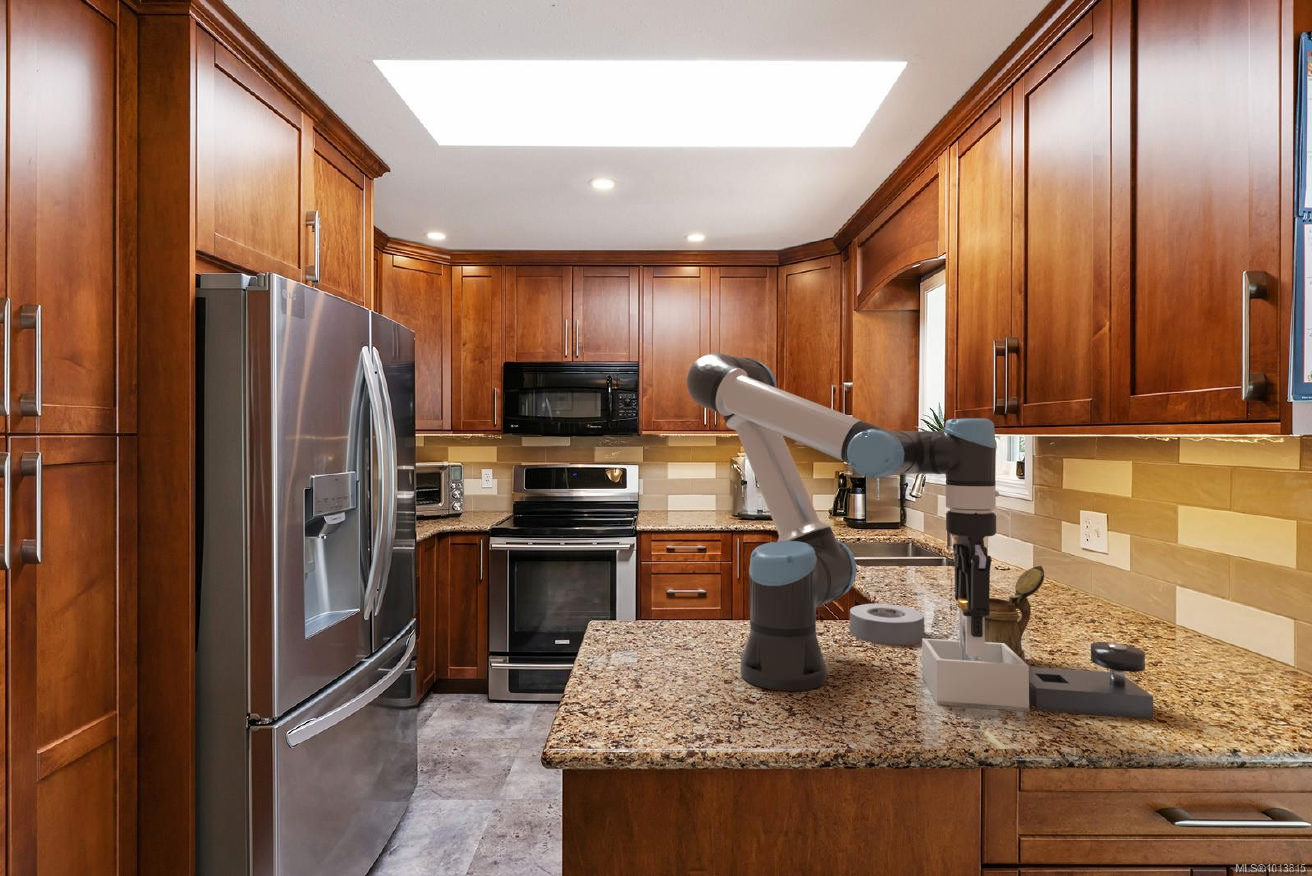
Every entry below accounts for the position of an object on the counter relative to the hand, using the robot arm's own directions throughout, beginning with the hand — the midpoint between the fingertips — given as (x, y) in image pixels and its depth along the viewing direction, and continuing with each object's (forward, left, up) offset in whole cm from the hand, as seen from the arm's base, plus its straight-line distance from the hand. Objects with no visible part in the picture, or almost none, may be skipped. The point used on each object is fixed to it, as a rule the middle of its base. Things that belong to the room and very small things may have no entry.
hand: (971, 650), depth 105 cm
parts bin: (0, 0, -7) cm, 7 cm away
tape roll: (-9, +32, -8) cm, 34 cm away
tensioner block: (+16, 0, -7) cm, 18 cm away
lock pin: (0, 0, -6) cm, 6 cm away
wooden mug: (+12, +20, -7) cm, 24 cm away
